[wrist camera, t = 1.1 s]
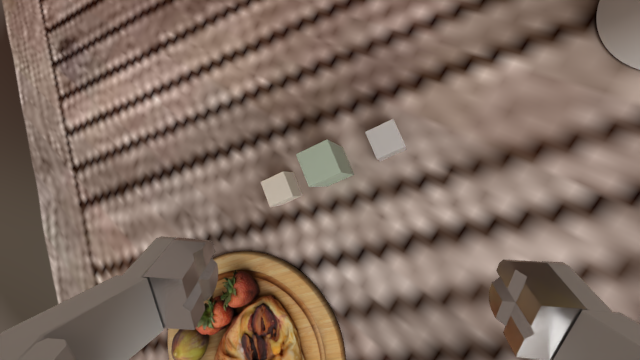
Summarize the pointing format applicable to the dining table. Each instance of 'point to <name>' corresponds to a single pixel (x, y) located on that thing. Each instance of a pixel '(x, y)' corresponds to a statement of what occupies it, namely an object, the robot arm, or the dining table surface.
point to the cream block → (281, 188)
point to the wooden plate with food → (260, 315)
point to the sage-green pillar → (324, 164)
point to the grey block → (385, 140)
